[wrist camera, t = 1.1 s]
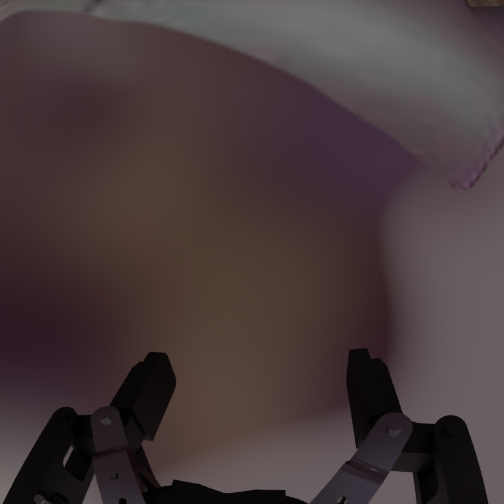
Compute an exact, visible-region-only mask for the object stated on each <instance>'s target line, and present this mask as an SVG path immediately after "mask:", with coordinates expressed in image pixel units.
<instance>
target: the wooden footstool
mask: <svg viewBox="0 0 504 504" xmlns="http://www.w3.org/2000/svg"><path fill="white" fill-rule="evenodd" d="M466 2H467V4H468V6H469V7H487V6H504V0H466Z"/></svg>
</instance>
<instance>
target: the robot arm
mask: <svg viewBox="0 0 504 504" xmlns="http://www.w3.org/2000/svg"><path fill="white" fill-rule="evenodd" d="M175 386H176V377H175V374H174V371H173V369H172V366H171V363H170V361H169V358H168V356H167V354H166V353H162V352H161V353H160V352H149V353H148V354H147V356H146V358H145V359H144V361H143V362H139V363H138V364H136V365H135V366H134V367H133V368H132V369H131V371H130V372H129V374H128V375H127V377H126V379H125V381H124V383H123V384H122V385H121V387H120V388H119V390H118V392H117V393H116V395H115V397H114V398H113V400H112V402H111V404H110V405H109V406H103V407H100V408H98V409H96V410H95V411H94V412H93V414H92V415H77V413H76V412H75V411H74V409H72V408H71V407H62V408H60V409H58V410H57V411H55V412H54V414H53V415H52V417H51V418H50V420H49V422H48V423H47V425H46V426H45V428H44V430H43V431H42V433H41V435H40V436H39V438H38V440H37V441H36V443H35V445H34V446H33V448H32V450H31V452H30V453H29V455H28V457H27V459H26V460H25V462H24V464H23V466H22V467H21V469H20V471H19V473H18V475H17V476H16V478H15V480H14V482H13V484H12V487H11V488H10V490H9V492H8V494H7V496H6V498H5V500H4V502H3V504H82V503H83V500H84V498H85V495H86V492H87V490H88V488H89V486H90V483H91V481H92V478H93V476H94V474H95V475H96V479H97V483H98V487H99V491H100V494H101V498H102V501H103V504H308V503H306V502H304V501H302V500H299V499H296V498H293V497H289V496H286V491H285V490H250V491H243V492H235V493H223V492H219V491H217V490H214V489H211V488H208V487H206V486H203V485H200V484H196V483H190V482H184V481H179V480H173V482H172V485H171V486H163V487H161V486H160V484H159V483H158V481H157V479H156V478H155V476H154V473H153V471H152V469H151V467H150V464H149V461H148V459H147V457H146V454H145V451H144V449H143V446H142V445H141V444H142V442H143V439H144V440H149V441H153V439H154V437H155V434H156V432H157V430H158V427H159V425H160V423H161V420H162V418H163V416H164V413H165V411H166V408H167V406H168V404H169V402H170V399H171V397H172V394H173V392H174V390H175ZM346 386H347V392H348V398H349V404H350V409H351V417H352V423H353V430H354V437H355V444H356V449H358V450H357V451H356V453H355V454H354V455H353V457H352V458H351V459H350V460H349V461H347V462H345V463H344V464H343V465H342V467H341V468H340V469H339V470H338V471H337V473H336V474H335V475H334V476H333V478H332V479H331V480H330V481H329V482H328V483H327V485H326V486H325V487H324V488H323V489H322V490H321V491H320V493H319V494H318V495H317V496H316V497H315V498H314V499H313V500H312V501H311V503H310V504H368V503H369V502H370V501H371V499H372V498H373V496H374V495H375V493H376V492H377V490H378V489H379V488H380V486H381V485H382V483H383V482H384V480H385V478H386V477H387V475H388V474H389V472H390V471H400V472H413V478H414V485H415V493H416V502H417V504H488V500H487V495H486V490H485V486H484V482H483V478H482V474H481V470H480V466H479V463H478V460H477V456H476V453H475V450H474V446H473V443H472V440H471V437H470V434H469V431H468V428H467V425H466V423H465V422H464V421H463V420H462V419H461V418H460V417H458V416H454V415H448V416H444V417H442V418H440V419H439V420H438V421H437V422H436V424H424V423H416V422H413V421H411V420H410V419H409V418H408V417H407V416H406V415H404V414H403V412H402V410H401V407H400V404H399V400H398V397H397V394H396V391H395V388H394V385H393V384H392V380H391V377H390V373H389V371H388V368H387V366H386V364H385V363H384V362H383V361H382V360H381V359H380V358H377V359H371V358H370V355H369V352H368V349H367V348H360V349H351V350H349V356H348V365H347V374H346ZM70 446H71V447H72V448H73V451H72V453H71V455H70V457H69V459H68V461H67V463H66V465H65V467H64V465H63V460H64V457H65V455H66V454H67V452H68V450H69V448H70Z"/></svg>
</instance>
